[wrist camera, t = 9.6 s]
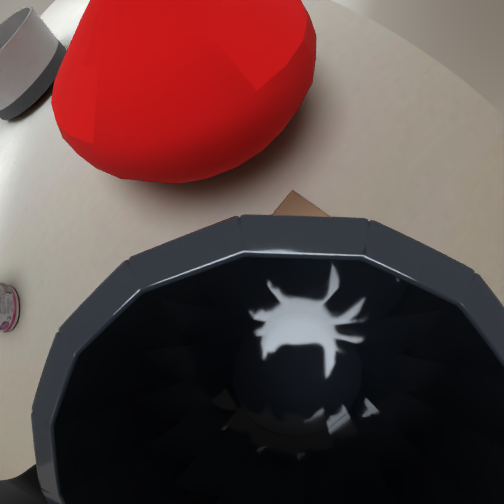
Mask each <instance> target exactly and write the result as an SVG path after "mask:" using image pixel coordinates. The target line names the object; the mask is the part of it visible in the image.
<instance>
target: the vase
mask: <svg viewBox="0 0 504 504" xmlns="http://www.w3.org/2000/svg"><path fill="white" fill-rule="evenodd" d="M315 60H316V33H315V30H314V27H313V24H312V21H311V18H310V16H309V14H308V12H307V10H306V8H305V7H304V5H303V3H302V1H301V0H90V2H89V4H88V6H87V8H86V10H85V12H84V14H83V16H82V18H81V20H80V22H79V25H78V27H77V29H76V31H75V34H74V36H73V38H72V41H71V43H70V45H69V47H68V49H67V52H66V54H65V56H64V59H63V61H62V63H61V66H60V68H59V71H58V73H57V76H56V78H55V81H54V85H53V93H52V101H51V104H52V108H53V111H54V115H55V119H56V122H57V125H58V127H59V129H60V132H61V134H62V137H63V139H64V140H65V141H66V142H67V143H68V144H69V145H70V146H71V147H72V148H73V149H74V150H75V152H76V153H77V154H78V155H80V156H81V157H82V158H84V159H85V160H86V161H87V162H89V163H90V164H91V165H93V166H94V167H95V168H97V169H99V170H102V171H104V172H106V173H109V174H111V175H113V176H116V177H118V178H120V179H130V180H141V181H151V182H163V183H173V184H177V183H183V182H190V181H196V180H203V179H207V178H210V177H213V176H215V175H218V174H220V173H223V172H226V171H228V170H231V169H234V168H236V167H238V166H239V165H241V164H242V163H244V162H246V161H247V160H249V159H250V158H252V157H253V156H255V155H256V154H258V153H260V152H261V151H263V150H264V149H265V148H266V147H267V146H268V145H269V144H270V143H271V142H272V141H273V140H274V139H275V138H276V137H277V136H278V135H279V134H280V133H281V132H282V131H283V130H284V128H285V127H286V125H287V124H288V122H289V121H290V120H291V118H292V117H293V115H294V114H295V112H296V111H297V110H298V108H299V106H300V104H301V102H302V101H303V99H304V97H305V95H306V93H307V92H308V90H309V88H310V86H311V84H312V82H313V75H314V68H315Z"/></svg>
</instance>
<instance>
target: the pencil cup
mask: <svg viewBox="0 0 504 504" xmlns="http://www.w3.org/2000/svg"><path fill="white" fill-rule="evenodd" d="M32 411H33V412H32V413H31V419H32V431H33V442H34V450H35V458H36V465H37V472H38V478H39V484H40V487H41V489H42V493H43V495H44V497H45V499H46V501H47V503H48V504H504V307H503V305H502V304H501V303H500V301H499V300H498V298H497V297H496V296H495V294H494V293H493V292H492V290H491V289H490V288H489V287H488V285H487V284H486V283H485V281H484V280H483V279H482V278H481V276H480V275H479V274H477V273H475V272H474V270H473V269H471V268H469V267H467V266H466V265H464V264H462V263H460V262H458V261H456V260H454V259H452V258H450V257H448V256H446V255H445V254H443V253H441V252H439V251H437V250H435V249H433V248H431V247H429V246H427V245H425V244H423V243H421V242H419V241H417V240H414V239H412V238H410V237H408V236H406V235H404V234H402V233H400V232H398V231H396V230H394V229H391V228H389V227H387V226H385V225H383V224H381V223H378V222H376V221H373V220H370V221H368V219H365V218H351V217H325V216H293V215H241V217H239V216H234V217H231V218H229V219H226V220H223V221H221V222H218V223H215V224H213V225H210V226H208V227H205V228H202V229H200V230H197V231H195V232H192V233H189V234H187V235H184V236H182V237H179V238H177V239H174V240H171V241H169V242H166V243H164V244H161V245H159V246H156V247H154V248H151V249H149V250H146V251H144V252H141V253H139V254H137V255H134V256H132V257H130V258H129V260H125V261H124V262H122V263H121V264H120V265H119V266H118V267H117V268H116V269H115V270H114V271H113V272H112V273H111V274H110V275H109V276H108V277H107V278H106V279H105V280H104V281H103V282H102V283H101V284H100V285H99V286H98V287H97V288H96V289H95V291H94V292H93V293H92V294H91V295H90V296H89V297H88V298H87V299H86V300H85V301H84V302H83V303H82V304H81V305H80V306H79V307H78V308H77V309H76V310H75V311H74V312H73V314H72V315H71V316H70V317H69V318H68V319H67V320H66V321H65V322H64V323H63V324H62V325H61V327H60V328H59V331H58V332H57V333H56V335H55V338H54V340H53V343H52V346H51V349H50V351H49V354H48V357H47V360H46V363H45V366H44V369H43V372H42V375H41V378H40V382H39V385H38V388H37V392H36V395H35V398H34V402H33V406H32Z"/></svg>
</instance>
